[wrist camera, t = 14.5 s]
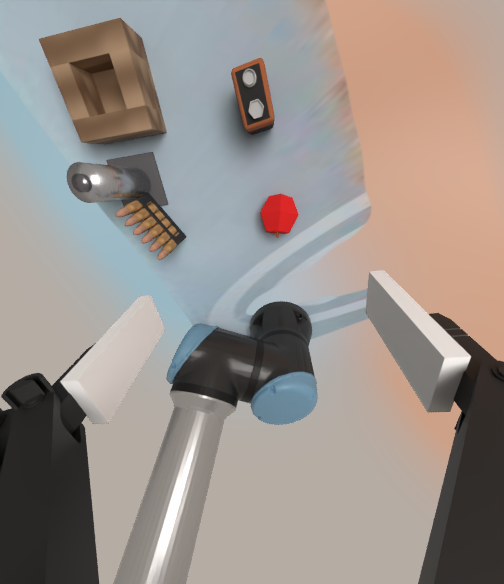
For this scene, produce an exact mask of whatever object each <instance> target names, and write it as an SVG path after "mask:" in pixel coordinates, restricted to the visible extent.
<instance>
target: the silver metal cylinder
mask: <svg viewBox="0 0 504 584" xmlns="http://www.w3.org/2000/svg"><path fill="white" fill-rule="evenodd" d="M67 182H68V185H69V188H70V189H71V191H72V193H73V194H74V195H75V196H76V197H77V198H78V199H80V200H81V201H84V202H87V203H93V202H103V201H114V200H125V199H135V198H140V197H142V196H144V195H145V194H148V193H149V191H150V181H149V178H148V176H147V175H146V174H145V172H143V171H142V170H140V169H138V168H130V167H121V166H111V165H101V164H91V163H81V162H77V163H74V164H72V165H71V166H70V167H69V169H68V171H67Z"/></svg>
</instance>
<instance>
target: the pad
mask: <svg viewBox="0 0 504 584" xmlns="http://www.w3.org/2000/svg"><path fill="white" fill-rule="evenodd" d="M106 161H107V163H108V165H111V166H121V167H130V168H138V169H140V170H142V171H143V172H145V174H146V175H147V176H148V178H149V181H150V191H149V194H150V195H151V196H152V197H153V198H154V200H155V201H156V202H157V203H158V204H159V205H165V204H168V201H167V198H166V195H165V191H164V188H163V185H162V181H161V178H160V174H159V171H158V168H157V164H156V161H155V158H154V154H153V152H149V153H144V154H138V155H133V156H127V157H122V158H116V159H110V160H106ZM137 199H139V198H135V199H125V200H122V202H123V205H124V207H125V206H126V205H127V204H129V203H131V202H133V201H135V200H137Z"/></svg>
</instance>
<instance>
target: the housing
mask: <svg viewBox="0 0 504 584" xmlns="http://www.w3.org/2000/svg"><path fill="white" fill-rule="evenodd" d="M39 41H40V43H41V46H42V48H43V51H44V53H45V56H46V58H47V60H48V63H49V65H50V68H51V70H52V72H53V75H54V77H55V80H56V82H57V84H58V87H59V89H60V92H61V94H62V97H63V99H64V101H65V104H66V106H67V109H68V111H69V113H70V116H71V118H72V121H73V123H74V125H75V128H76V130H77V133H78V135H79V137H80V140H81V142H83V143H96V144H108V143H113V142H118V141H124V140H129V139H134V138H139V137H145V136H150V135H155V134H161V133H166V128H165V124H164V120H163V117H162V113H161V109H160V105H159V101H158V98H157V94H156V90H155V86H154V82H153V79H152V75H151V71H150V67H149V64H148V60H147V56H146V52H145V48H144V45H143V41H142V38H141V37H140V36H139V35H138V34H137V33H136V32H135V31H134V30H133V29H132V28H130V27H129V26H128V25H127V24H126V23H125V22H124V21H123V20H122V19H121V18H118V19H114V20H110V21H106V22H102V23H99V24H95V25H91V26H87V27H83V28H79V29H75V30H72V31H68V32H64V33H60V34H56V35H52V36H48V37H45V38H41V39H39Z"/></svg>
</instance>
